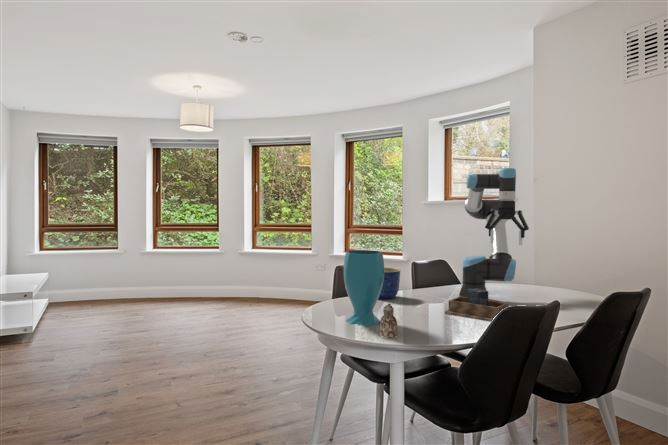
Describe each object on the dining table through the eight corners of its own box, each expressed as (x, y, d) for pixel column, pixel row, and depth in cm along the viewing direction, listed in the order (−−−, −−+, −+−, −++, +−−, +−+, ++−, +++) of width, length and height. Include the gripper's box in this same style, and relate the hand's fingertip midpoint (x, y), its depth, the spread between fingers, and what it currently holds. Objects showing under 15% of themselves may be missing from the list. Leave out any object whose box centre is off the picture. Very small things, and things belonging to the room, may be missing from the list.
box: (488, 314, 204) (488, 291, 204) (478, 315, 202) (478, 291, 202) (477, 310, 211) (477, 287, 211) (467, 311, 209) (467, 288, 209)
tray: (444, 313, 209) (445, 300, 208) (459, 307, 221) (459, 295, 221) (498, 322, 193) (498, 309, 192) (511, 316, 205) (511, 302, 205)
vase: (372, 328, 182) (372, 255, 181) (335, 322, 191) (336, 252, 190) (389, 319, 197) (390, 251, 196) (355, 314, 206) (356, 249, 205)
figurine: (376, 337, 171) (377, 305, 170) (381, 332, 178) (382, 302, 177) (395, 339, 168) (395, 307, 168) (399, 334, 175) (399, 303, 175)
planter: (405, 296, 247) (405, 269, 246) (391, 302, 233) (392, 272, 232) (377, 293, 256) (377, 266, 256) (363, 298, 242) (363, 270, 241)
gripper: (478, 200, 223) (478, 242, 223) (531, 200, 207) (530, 246, 207) (484, 200, 228) (483, 241, 229) (536, 200, 212) (535, 245, 213)
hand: (506, 244), depth 218 cm, fingers open, 13 cm apart
